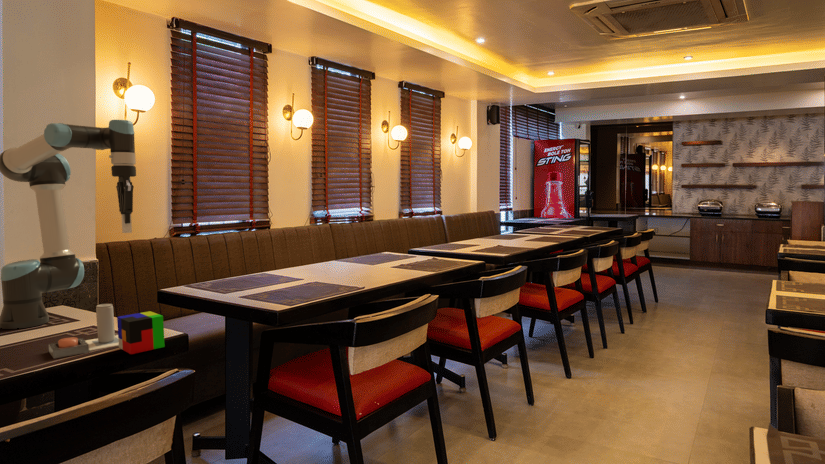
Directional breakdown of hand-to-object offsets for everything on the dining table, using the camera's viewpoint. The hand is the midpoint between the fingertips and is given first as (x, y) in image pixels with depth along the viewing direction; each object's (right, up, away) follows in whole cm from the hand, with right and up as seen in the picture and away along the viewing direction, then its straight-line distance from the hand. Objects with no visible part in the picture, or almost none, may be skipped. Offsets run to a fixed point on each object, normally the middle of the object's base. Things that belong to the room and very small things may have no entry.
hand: (127, 232), depth 188 cm
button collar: (-5, -37, -24) cm, 44 cm away
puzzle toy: (+15, -36, -20) cm, 44 cm away
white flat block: (+1, -36, -14) cm, 39 cm away
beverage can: (+1, -36, -14) cm, 38 cm away
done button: (-5, -36, -24) cm, 44 cm away
